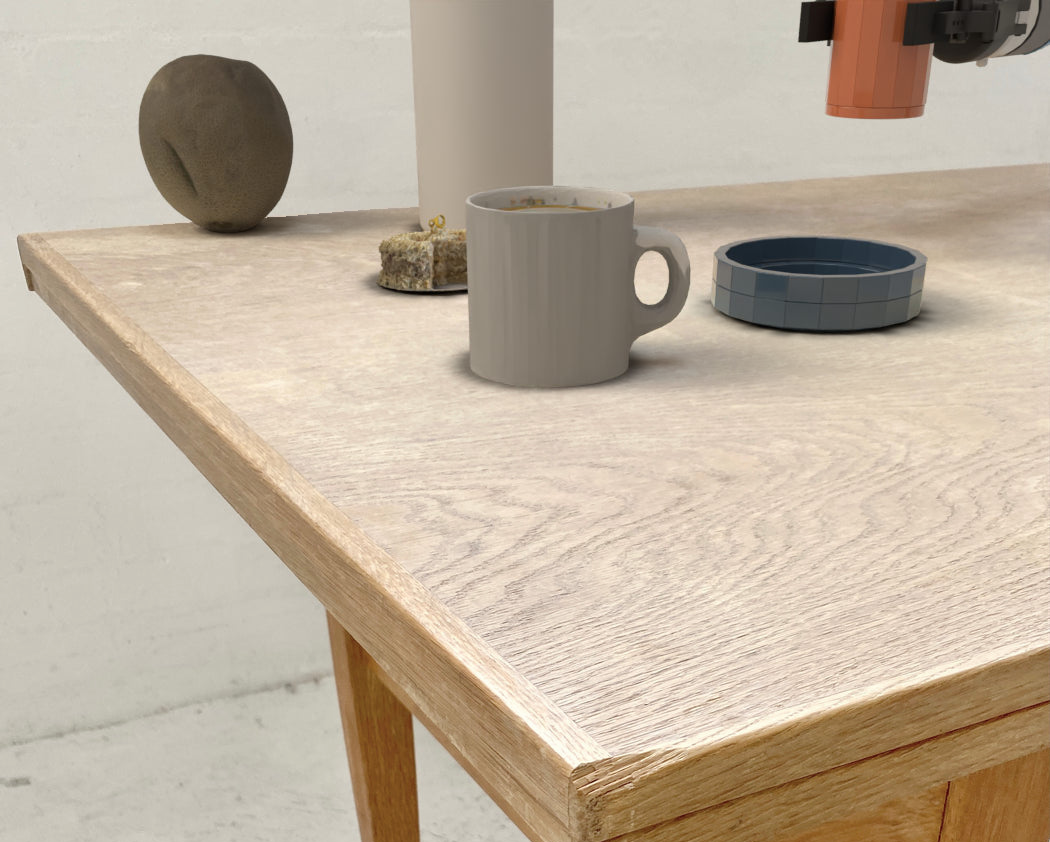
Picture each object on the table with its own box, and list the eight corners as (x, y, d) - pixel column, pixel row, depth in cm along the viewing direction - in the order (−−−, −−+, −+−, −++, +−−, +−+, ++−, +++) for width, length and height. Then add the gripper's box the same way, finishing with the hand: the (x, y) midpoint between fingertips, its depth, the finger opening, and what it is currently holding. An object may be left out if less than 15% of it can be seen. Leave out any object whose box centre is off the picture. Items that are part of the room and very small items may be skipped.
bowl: (960, 327, 88) (970, 267, 86) (769, 346, 85) (774, 284, 83) (851, 283, 100) (857, 230, 98) (679, 298, 97) (681, 243, 95)
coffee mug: (455, 387, 77) (448, 211, 72) (486, 344, 86) (483, 184, 81) (679, 396, 75) (689, 216, 70) (689, 352, 84) (698, 188, 79)
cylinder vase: (399, 238, 118) (381, -81, 105) (448, 216, 128) (438, -78, 116) (528, 246, 114) (527, -83, 102) (569, 222, 125) (571, -80, 112)
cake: (351, 292, 102) (343, 220, 99) (445, 274, 108) (440, 206, 105) (434, 301, 95) (428, 224, 93) (530, 282, 101) (526, 209, 99)
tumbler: (943, 117, 99) (964, -33, 94) (855, 121, 97) (872, -32, 92) (890, 107, 106) (907, -33, 100) (807, 111, 104) (820, -32, 99)
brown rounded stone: (327, 233, 121) (312, 54, 113) (181, 250, 114) (155, 61, 107) (269, 212, 131) (252, 47, 124) (132, 226, 125) (105, 53, 117)
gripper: (1090, 65, 106) (983, 86, 91) (860, 57, 118) (730, 74, 102) (1109, -39, 103) (1002, -36, 87) (870, -38, 114) (737, -35, 99)
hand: (855, 23), depth 95 cm, fingers closed on tumbler, 8 cm apart
